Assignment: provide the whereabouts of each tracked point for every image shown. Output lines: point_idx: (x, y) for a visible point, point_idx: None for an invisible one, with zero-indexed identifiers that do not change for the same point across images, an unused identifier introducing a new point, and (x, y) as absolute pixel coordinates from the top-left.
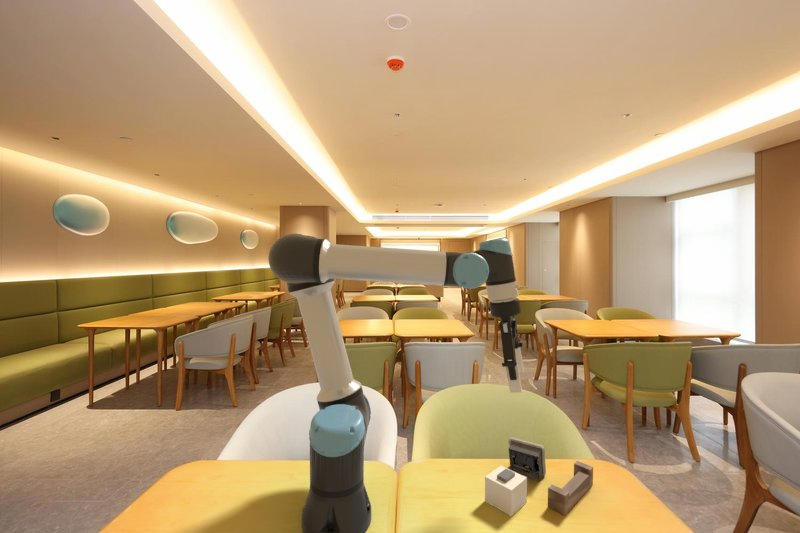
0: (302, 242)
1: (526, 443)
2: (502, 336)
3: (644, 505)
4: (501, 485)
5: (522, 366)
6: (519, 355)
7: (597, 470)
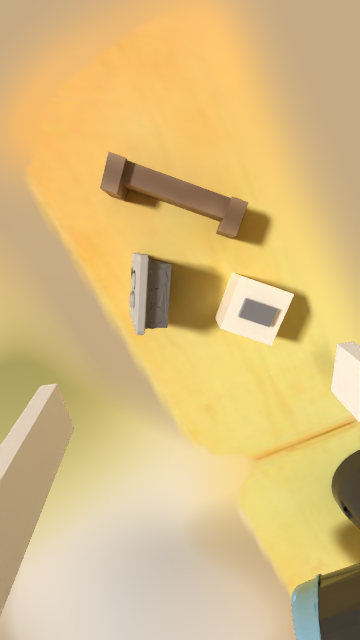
0: None
1: (146, 295)
2: None
3: (140, 63)
4: (285, 313)
5: (44, 411)
6: (4, 492)
7: (59, 155)
